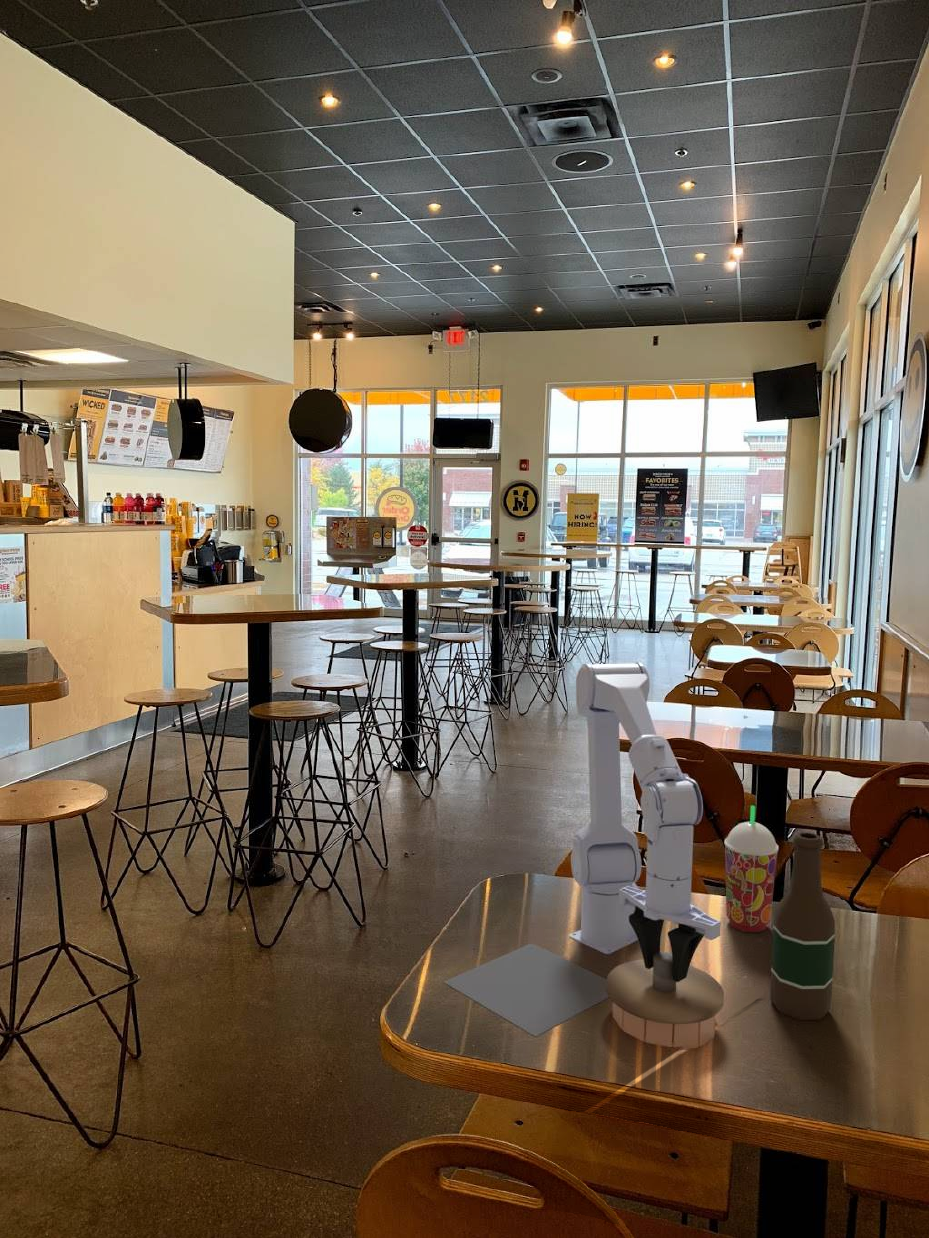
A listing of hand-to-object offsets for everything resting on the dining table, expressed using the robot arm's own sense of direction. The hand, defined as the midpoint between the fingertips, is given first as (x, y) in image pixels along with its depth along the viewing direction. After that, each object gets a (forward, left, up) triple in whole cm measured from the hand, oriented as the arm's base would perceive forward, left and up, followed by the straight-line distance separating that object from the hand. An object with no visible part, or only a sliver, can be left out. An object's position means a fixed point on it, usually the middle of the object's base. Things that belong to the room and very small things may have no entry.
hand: (665, 972), depth 117 cm
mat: (+7, -17, -7) cm, 20 cm away
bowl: (0, 0, -7) cm, 7 cm away
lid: (0, 0, -3) cm, 3 cm away
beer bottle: (-17, +10, -7) cm, 21 cm away
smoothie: (-34, -8, -7) cm, 36 cm away
